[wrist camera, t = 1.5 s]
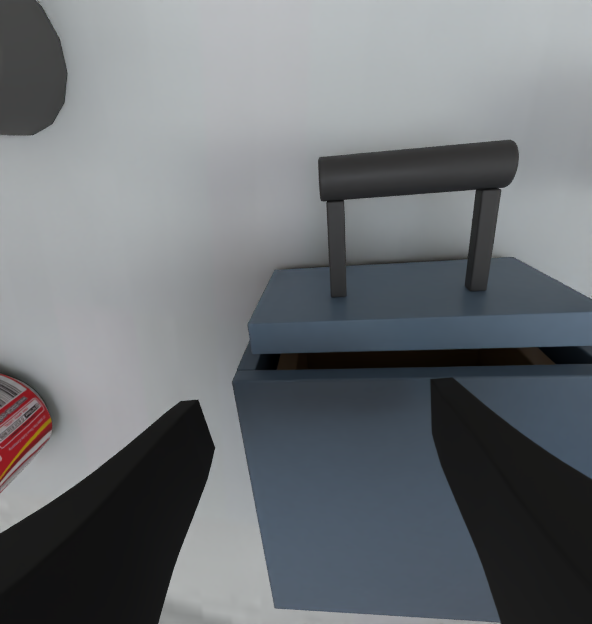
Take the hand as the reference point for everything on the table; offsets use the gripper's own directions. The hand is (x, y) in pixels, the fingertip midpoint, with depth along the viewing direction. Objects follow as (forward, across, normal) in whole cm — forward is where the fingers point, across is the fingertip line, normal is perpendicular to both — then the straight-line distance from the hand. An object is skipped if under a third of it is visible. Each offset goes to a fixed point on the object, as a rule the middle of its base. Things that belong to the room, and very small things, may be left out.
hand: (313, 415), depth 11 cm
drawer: (+8, -3, +2) cm, 9 cm away
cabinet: (+9, -3, +6) cm, 11 cm away
